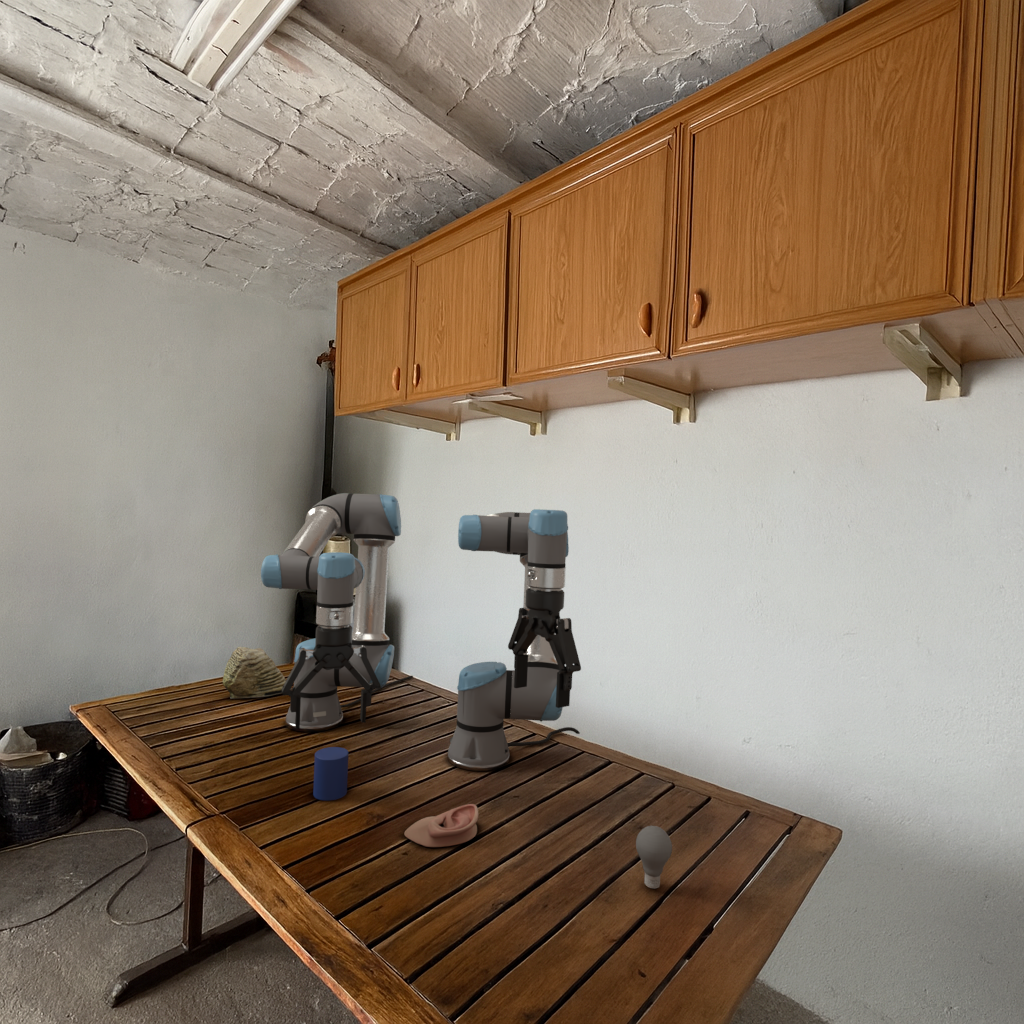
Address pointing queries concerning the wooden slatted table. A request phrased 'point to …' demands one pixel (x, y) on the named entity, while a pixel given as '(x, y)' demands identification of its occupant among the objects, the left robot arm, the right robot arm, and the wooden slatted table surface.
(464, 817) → the anatomical model
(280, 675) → the fossil
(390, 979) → the wooden slatted table surface
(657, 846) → the light bulb
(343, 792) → the canister
